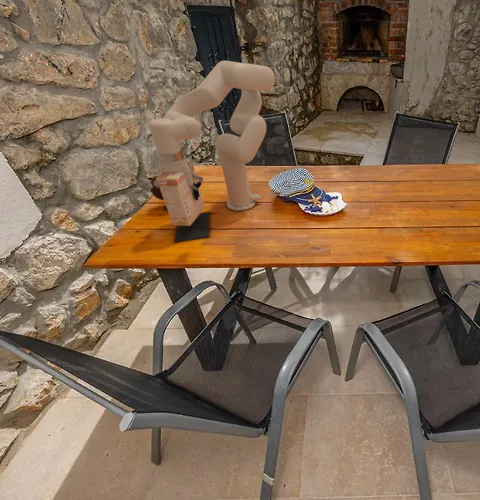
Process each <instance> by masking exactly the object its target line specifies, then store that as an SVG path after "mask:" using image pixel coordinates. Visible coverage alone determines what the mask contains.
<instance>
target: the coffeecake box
mask: <svg viewBox="0 0 480 500" xmlns="http://www.w3.org/2000/svg"><path fill="white" fill-rule="evenodd" d="M188 163H189V165H190V168H191V171H192V173H193V174H196V171H195V167H194V163H193V162H188ZM157 176H158V177H157V178H156V179H157V182H158V185H159V187H160V190H161V193H162V196H163V198H164V200H163V202H164V204H165V206H166V207H167V209H168V210H167V212H168V215H169V217H170V220H171V223H172V226H175V227H177V226H191V224H192V223H193V222H194V221H195V219H196V218H197V217H198V216H199V214H200V213H203V211H204V209H205V208H206V206H205V203H204V202H205V201H204V198H203V195H202V192H201V189H200V187H199V188H198V191H199V195H200V197H198V200H196V198H195V195H194V189H193V188H192V187H190V186H188V184H187V182H186V179H185V176H184V173H183V172H176V173H164V174H161V173H160V174H159V175H157ZM198 181H199V180H197V179H195V178H194V181H193V182H194V183H195V184H197V183H198Z"/></svg>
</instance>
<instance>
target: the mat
mask: <svg viewBox="0 0 480 500" xmlns="http://www.w3.org/2000/svg"><path fill="white" fill-rule="evenodd" d="M209 232H210V212H209V211H207V212H201V213H200V214H199V216H198V217H197V218H196V219H195V221H194V222H193V223H192V224H191V226H176V231H175V237H174V243H180V242H181V243H182V242H188V241H193V240H199V239H207V238H210V237H209V234H210V233H209Z"/></svg>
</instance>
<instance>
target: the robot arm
mask: <svg viewBox="0 0 480 500" xmlns="http://www.w3.org/2000/svg"><path fill="white" fill-rule="evenodd" d="M275 83H276V76H275V72H274V71H273V70H272V69H271V68H270V67H268V66H266V65H261V64H254V63H243V62H238V61H231V60H221V61H219V62H217V64H216V65H215V66H214V67H213V68H212V69H211V71H209V73H208V75H206V77H205V78H204V79H203V80H202V81H201V82H200V84H199V85H198V86H197V87H196V88H194V89H192V90H190V91H189V92H187V93H186V94H184V95H182V96H180V97H179V99H177V100H176V101H175V102H174V103H173V104H172V106H170V108H169V109H168V110H167V112H166V113H165V115H164V116H163V117H160V118H153V119H151V120H150V121H149V122H148V128H149V131H150V133H151V137H152V140H153V143H154V146H155V149H156V153H157V155H158V158H159V159H158V168H159V173H160V175H161V174H164V173H176V172H183V173H184V176H185V179H186V182H187V184H188V186H190V187H192V188H193V189H194V195H195V198H196V200H198V197H200V195H199V191H198V188H200V187H201V186H202V184H203V181H204V177H203V176H201V175H198V174H196V173H195V174H193V173H192V171H191V168H190V165H189V163H190V162H189V160H188V159H187V156H188V152H187V151H184V150H183V149H182V147H181V144H180V141H182V140H183V141H184V140H193V139H196V138H197V137H199V135H200V134H201V132H202V127H201V124H200V122H199V120H197V119H196V118H194V116H195V115H197V114H198V113H200V112H203V111H207V110H211V109H215V108H216V107H218V106H220V105H221V103H222V102H223V101H224V99H225V98H226V97H227V95H228V94H229V93H230V92H231V91H232V90H233V89H239V90H241V95H240V99H239V101H238V102H237V105H236V107H235V109H234V111H233V113H232V115H231V118H230V120H229V127H230V129H231V131H232V132H234V134H231V133H222V134H220V135H218V136H217V137H216V139H215V142H214V147H215V151H216V154H217V156H218V159H219V161H220V165H221V168H222V169H221V170H222V172H223V178H224V181H225V182H224V183H225V187H226V190H227V196H228V200H227V201H226V208H228V209H229V210H231V211H235V212H243V211H247V210H249V209H252V208H253V207H254V206H256V201H262V200H263V199H262V198H263V197H262V195H259V194H258V193H255V194H253V193H252V192H251V190H250V189H251V188H250V184H249V178H248V172H247V171H248V170H247V167H246V166H247V165H246V164H248V163H250V162H252V161H253V160H254V158H255V157H256V155H257V153H258V151H259V149H260V147H261V145H262V143H263V141H264V139H265V136H266V134H267V123H266V120H265V118H264V117H263V116H261V115H260V112H261V109H262V106H263V100H262V95H261V91H263V92H266V91H269V90H271V89H272V88H273V87H274V86H275ZM236 134H237V135H236ZM194 178H195V179H197V181H198V183H197V184H195V183H194V182H193V181H194ZM153 185H154V186H156V187H157V188H158V189H159V190H160V187H159V185H158V182H157V180H156V181H154V182H153Z"/></svg>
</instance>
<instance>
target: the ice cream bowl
mask: <svg viewBox="0 0 480 500" xmlns="http://www.w3.org/2000/svg"><path fill="white" fill-rule="evenodd" d="M158 176H159V175H155V176H153V177H152V178H151V180H150V184H151V186H152V187H151V188H150V190H149V192H151V194H152V195H153V196H154V197H155V198H156V199H157V200H160V201H164V198H163V196H162V193H161V190H159V189H158V188H157V187H156V186H154V185H153V182H154V181H156V180H157V179H156V178H157V177H158ZM163 209H164V210H165V211H168V209H167V207H166V205H164V207H163Z"/></svg>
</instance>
